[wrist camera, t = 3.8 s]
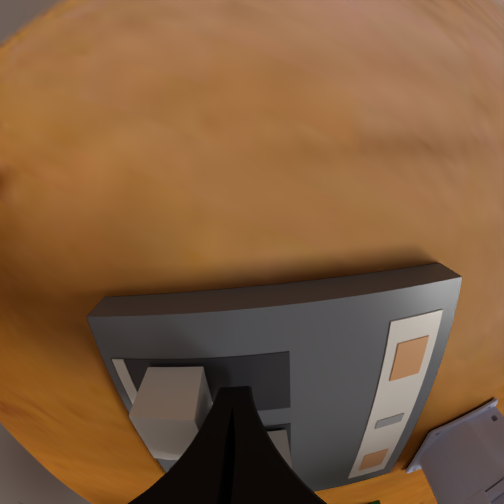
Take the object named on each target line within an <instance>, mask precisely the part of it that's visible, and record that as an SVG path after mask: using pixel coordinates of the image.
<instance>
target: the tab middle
mask: <svg viewBox="0 0 504 504" xmlns="http://www.w3.org/2000/svg"><path fill="white" fill-rule="evenodd" d="M267 433H268V435H269V437H270V438H271V440H272V442H273V443H274V445H275V447H276V448H277V450H278V451H279V453H280V454H281V456H282V457H283V458H284V460H285V461H286V462H287V464H288V465H289V466H290V467H291V469H292V464H291V457H290V451H289V444H288V437H287V431H286V430H279V431H270V432H267Z"/></svg>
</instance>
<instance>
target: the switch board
mask: <svg viewBox="0 0 504 504" xmlns="http://www.w3.org/2000/svg"><path fill="white" fill-rule="evenodd" d="M461 281H462V276H460V275H459V274H457V273H455V272H454V271H452V270H451V269H449V268H447V267H446V266H444V265H443V264H441V263H435V264H429V265H422V266H416V267H409V268H402V269H395V270H388V271H381V272H374V273H366V274H359V275H351V276H343V277H335V278H327V279H318V280H310V281H301V282H292V283H282V284H273V285H263V286H252V287H242V288H231V289H219V290H207V291H195V292H181V293H167V294H152V295H136V296H117V297H104V298H103V299H102V300H101V301H100V302H99V303H98V304H97V306H96V307H95V308H94V309H93V310H92V311H91V312H90V313H89V314H88V315H87V320H88V323H89V326H90V328H91V331H92V334H93V336H94V339H95V341H96V344H97V346H98V349H99V351H100V354H101V356H102V358H103V361H104V363H105V365H106V367H107V370H108V372H109V374H110V376H111V378H112V380H113V383H114V385H115V387H116V389H117V391H118V393H119V395H120V397H121V399H122V401H123V403H124V405H125V406H126V408H127V410H128V412H129V413H130V411H131V408H132V406H133V403H134V400H135V398H136V395H137V393H138V390H139V388H140V385H141V383H142V381H143V378H144V376H145V373H146V371H147V368H148V367H203V368H204V372H205V375H206V379H207V383H208V387H209V391H210V394H211V398H212V402H214V400H215V397H216V395H217V392H218V389H219V388H220V387H237V386H250V387H252V394H253V400H254V403H255V406H256V409H257V412H258V414H259V416H260V419H261V421H262V423H263V425H264V427H265V429H266V431H267V432H270V431H279V430H286V431H287V437H288V444H289V451H290V457H291V464H292V470H293V471H294V472H295V473H296V474H297V475H298V477H299V478H300V479H301V480H302V481H303V482H304V483H305V484H306V485H307V486H308V487H309V488H310V489H311V490H312V491H313V492H314V491H319V490H325V489H330V488H334V487H339V486H343V485H347V484H351V483H355V482H359V481H363V480H366V479H370V478H373V477H377V476H380V475H383V474H386V473H389V472H390V471H391V470H392V468H393V466H394V465H395V463H396V461H397V460H398V458H399V456H400V454H401V452H402V451H403V449H404V447H405V445H406V443H407V441H408V439H409V437H410V435H411V433H412V431H413V429H414V427H415V425H416V423H417V421H418V419H419V417H420V414H421V412H422V410H423V408H424V405H425V403H426V400H427V398H428V396H429V393H430V391H431V388H432V385H433V383H434V380H435V377H436V375H437V372H438V369H439V366H440V363H441V360H442V357H443V354H444V351H445V348H446V344H447V341H448V337H449V334H450V330H451V326H452V323H453V319H454V314H455V310H456V306H457V301H458V297H459V292H460V286H461ZM156 459H157V460H158V461H159V463H160V464H161V466H162V467H163V469H164V470H165V472H166V473H167V472H168V471H169V469H170V468H171V467H172V466H173V465H174V464H175V463H176V462H177V461H178V460H170V459H159V458H156Z"/></svg>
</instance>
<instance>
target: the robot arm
mask: <svg viewBox="0 0 504 504" xmlns="http://www.w3.org/2000/svg"><path fill="white" fill-rule="evenodd" d="M497 402H498V400H497V398H495V399H493V400H492V401H490V402H488V403H487V404H485V405H483V406H481V407H480V408H478V409H476V410H474V411H472V412H470V413H468V414H466V415H464V416H463V417H461V418H458V419H456V420H454V421H452V422H450V423H448V424H446V425H444V426H441V427H439V428H437V429H434V430H432V431H431V432H429V433H428V435H427V436H426V438H425V440H424V442H423V443H422V445H421V447H420V449H419V450H418V452H417V454H416V455H415V457H414V458H413V460H412V461H411V463H410V465H409V466H408V468H407V469H406V473H411V472H413V471H416V470H418V469H420V468H422V470H423V472H424V474H425V476H426V478H427V481H428V483H429V485H430V487H431V489H432V491H433V494H434V496H435V498H436V500H437V503H438V504H504V417H503V415H502V414H501V413H500V411H499V410H498V409H497V408H496V404H497ZM18 504H21V503H20V502H19V503H18ZM128 504H327V503H326V502H324V501H323V500H322V499H321V498H320V497H318V496H317V495H316V494H315V493H314V492H313V491H312V490H311V489H310V488H309V487H308V486H307V485H306V484H305V483H304V482H303V481H302V480H301V479H300V478H299V477H298V475H297V474H296V473H295V472H294V471H293V470H292V469H291V467H290V466H289V465H288V464H287V462H286V461H285V460H284V458H283V457H282V456H281V454H280V453H279V451H278V450H277V448H276V447H275V445H274V443H273V442H272V440H271V438H270V437H269V435H268V433H267V431H266V429H265V427H264V425H263V423H262V421H261V419H260V416H259V414H258V412H257V409H256V406H255V403H254V400H253V394H252V387H250V386H237V387H220V388H219V389H218V392H217V395H216V397H215V400H214V402H213V405H212V407H211V409H210V411H209V413H208V415H207V417H206V419H205V421H204V423H203V424H202V426H201V428H200V430H199V431H198V433H197V434H196V436H195V438H194V439H193V441H192V442H191V444H190V445H189V447H188V448H187V449H186V451H185V452H184V453H183V454H182V456H181V457H180V458H179V459H178V461H177V462H176V463H175V464H174V465H173V466H172V467H171V468H170V469H169V471H168V472H167V473H166V474H165V475H164V476H162V477H161V478H160V479H159V480H158V481H157V482H156V483H155V484H153V485H152V486H151V487H150V488H149V489H148V490H146V491H145V492H144V493H142V494H141V495H139V496H138V497H137V498H135V499H134V500H132V501H131V502H129V503H128Z"/></svg>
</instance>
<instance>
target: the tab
mask: <svg viewBox="0 0 504 504" xmlns="http://www.w3.org/2000/svg"><path fill="white" fill-rule="evenodd" d="M212 405H213V402H212V398H211V394H210V391H209V387H208V383H207V379H206V375H205V372H204V368H203V367H148V368H147V371H146V373H145V376H144V378H143V381H142V383H141V385H140V388H139V390H138V393H137V395H136V398H135V400H134V403H133V406H132V408H131V411H130V413H129V418H130V420H131V422H132V423H133V425H134V427H135V428H136V430H137V432H138V433H139V435H140V437H141V438H142V440H143V442H144V443H145V445H146V446H147V448H148V450H149V451H150V453H151V454H152V456H153V457H154V458H159V459H170V460H178V459H179V458H180V457H181V456H182V454H183V453H184V452H185V451H186V449H187V448H188V447H189V445H190V444H191V442H192V441H193V439H194V438H195V436H196V434H197V433H198V431H199V430H200V428H201V426H202V424H203V423H204V421H205V419H206V417H207V415H208V413H209V411H210V409H211V407H212Z"/></svg>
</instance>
